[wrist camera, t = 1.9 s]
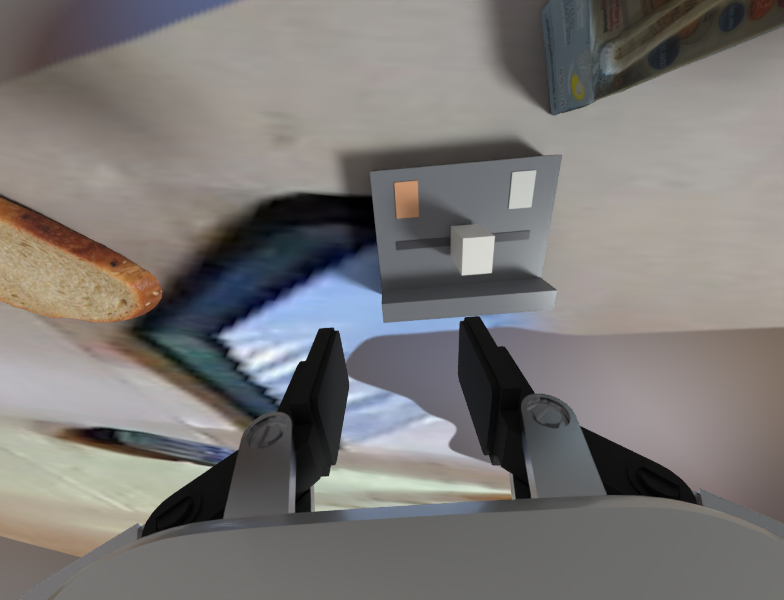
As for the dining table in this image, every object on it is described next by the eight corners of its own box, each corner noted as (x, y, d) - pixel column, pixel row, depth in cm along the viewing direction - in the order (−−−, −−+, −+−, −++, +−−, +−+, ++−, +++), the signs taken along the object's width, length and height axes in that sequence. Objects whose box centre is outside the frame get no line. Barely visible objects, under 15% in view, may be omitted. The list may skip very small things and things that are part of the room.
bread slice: (178, 302, 32) (154, 318, 29) (54, 342, 34) (18, 361, 31) (49, 130, 24) (-4, 125, 21) (-100, 196, 27) (-170, 201, 23)
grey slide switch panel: (543, 155, 25) (585, 153, 20) (524, 284, 31) (553, 309, 26) (371, 170, 26) (367, 173, 20) (384, 295, 32) (383, 322, 26)
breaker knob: (477, 223, 25) (494, 235, 21) (475, 256, 26) (491, 272, 22) (450, 226, 25) (463, 238, 21) (450, 258, 26) (461, 275, 22)
